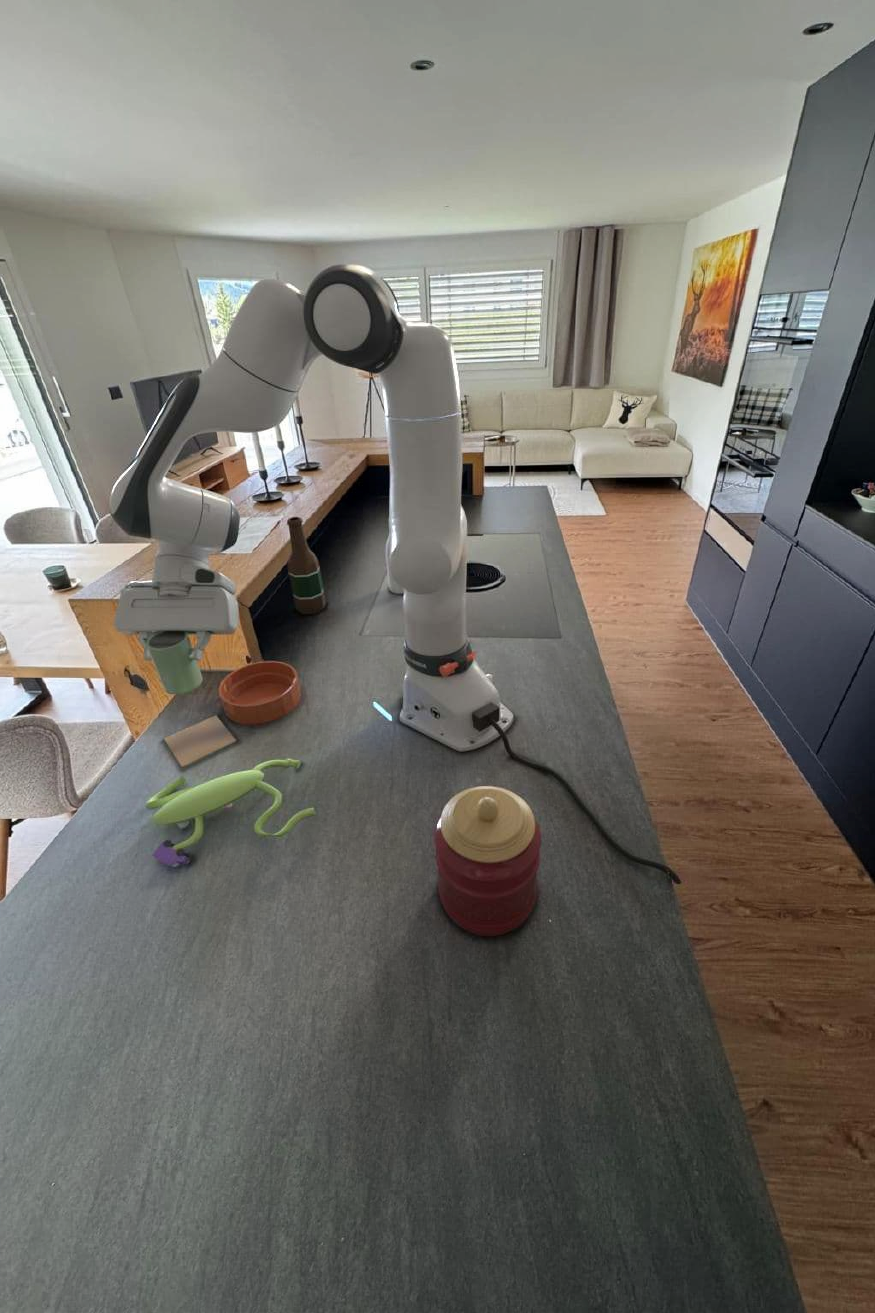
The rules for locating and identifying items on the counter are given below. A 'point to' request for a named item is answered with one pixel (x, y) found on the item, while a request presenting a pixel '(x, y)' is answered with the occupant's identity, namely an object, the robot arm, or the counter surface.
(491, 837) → the kitchen canister
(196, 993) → the counter surface
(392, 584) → the milk bottle
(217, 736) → the coaster
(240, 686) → the bowl
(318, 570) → the beer bottle
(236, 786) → the figurine
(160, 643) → the cup
